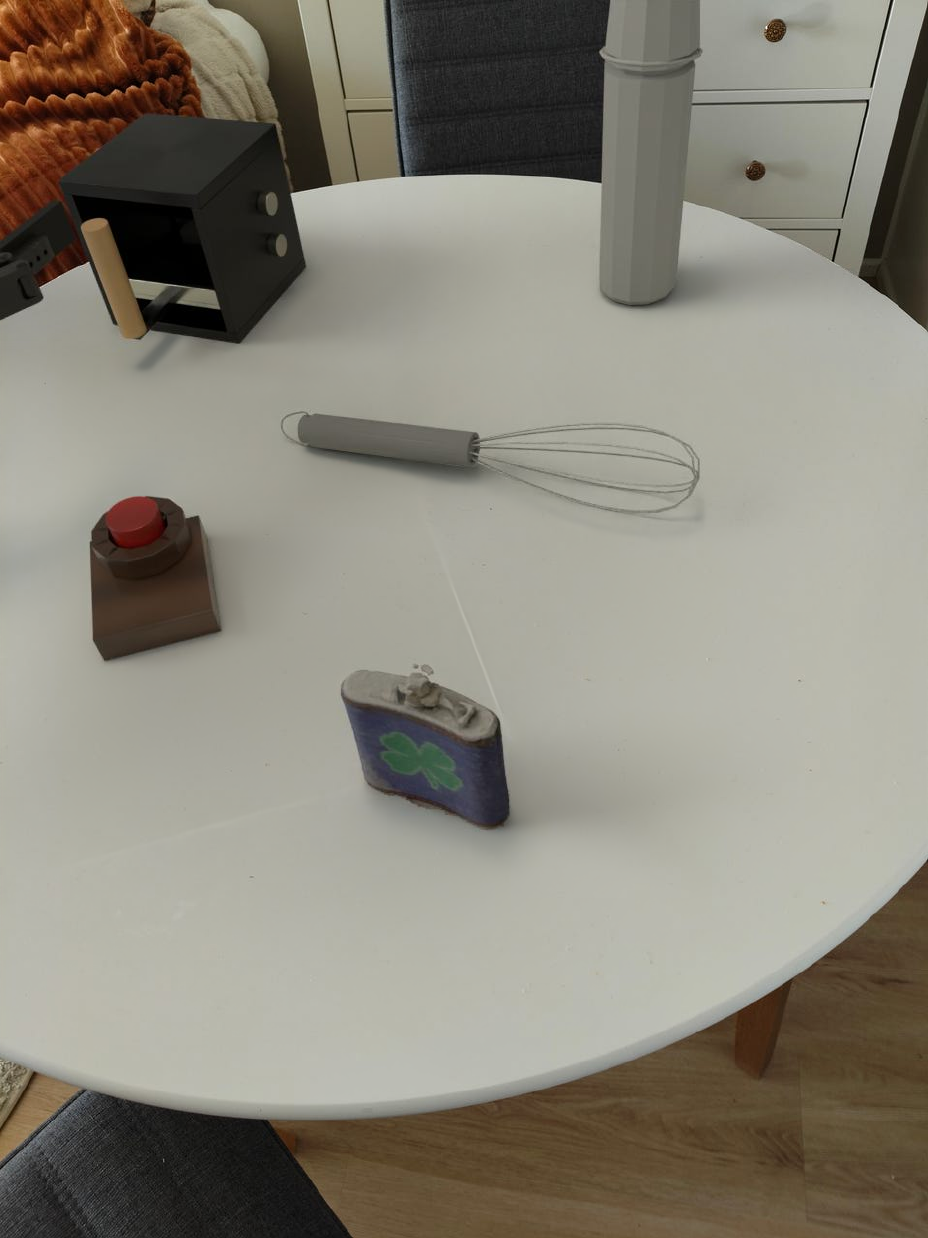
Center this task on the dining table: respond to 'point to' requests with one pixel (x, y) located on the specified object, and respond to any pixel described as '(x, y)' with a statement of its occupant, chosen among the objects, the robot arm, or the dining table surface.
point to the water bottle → (645, 144)
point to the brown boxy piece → (152, 587)
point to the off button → (135, 522)
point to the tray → (151, 276)
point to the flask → (428, 745)
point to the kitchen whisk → (456, 446)
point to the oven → (196, 212)
